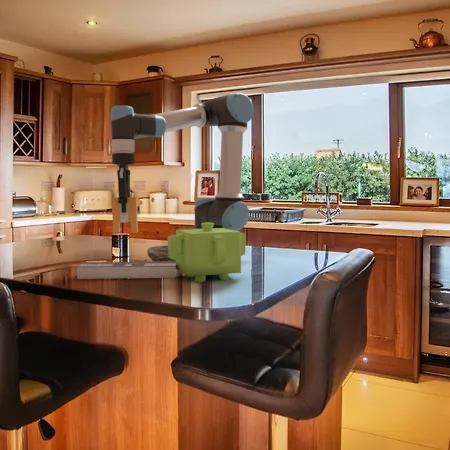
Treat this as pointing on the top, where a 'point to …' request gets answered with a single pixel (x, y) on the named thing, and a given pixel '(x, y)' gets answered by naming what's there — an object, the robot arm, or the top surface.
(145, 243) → the top surface
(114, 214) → the tall orange block
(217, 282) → the top surface
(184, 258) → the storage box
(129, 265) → the rail
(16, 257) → the top surface
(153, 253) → the stone
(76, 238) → the top surface
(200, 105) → the robot arm
